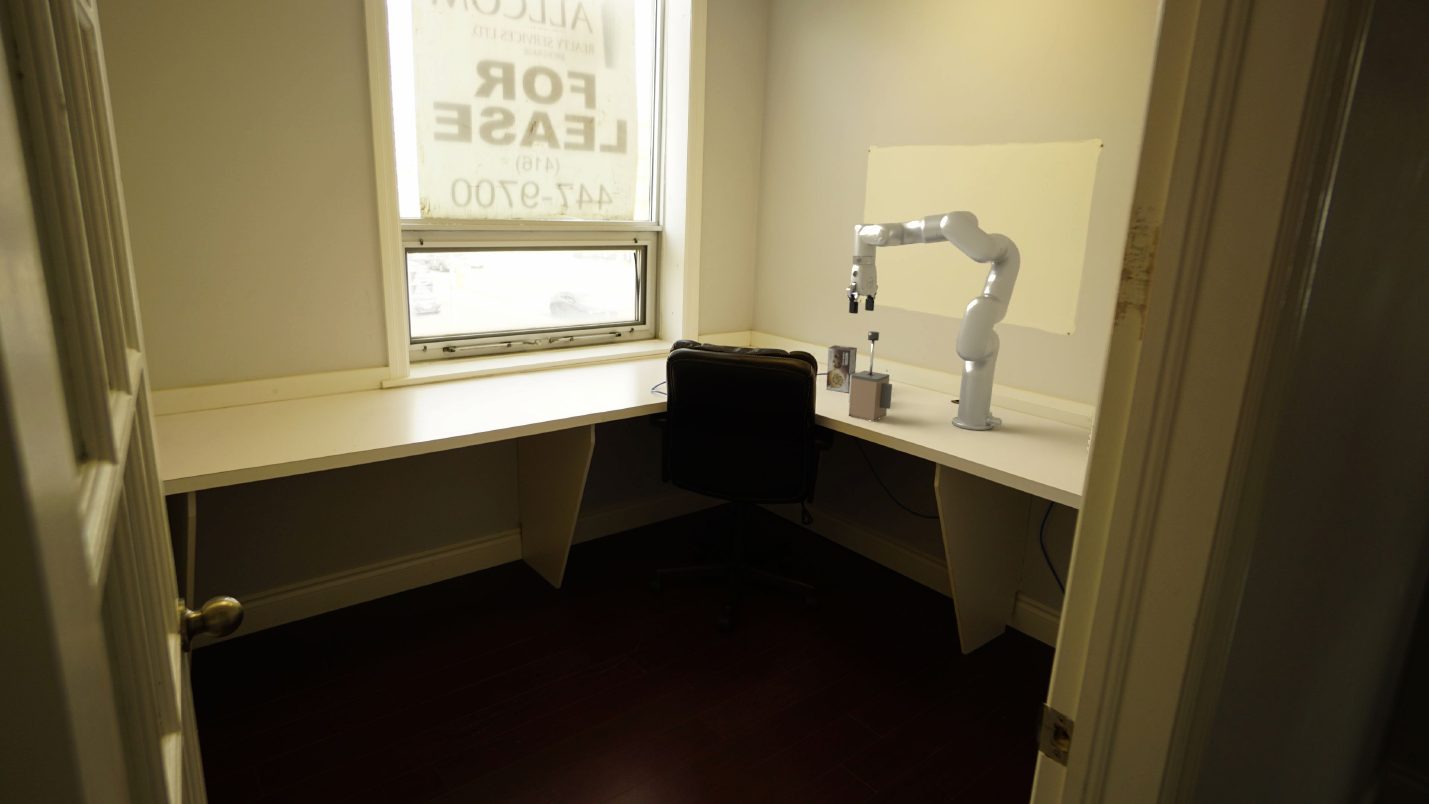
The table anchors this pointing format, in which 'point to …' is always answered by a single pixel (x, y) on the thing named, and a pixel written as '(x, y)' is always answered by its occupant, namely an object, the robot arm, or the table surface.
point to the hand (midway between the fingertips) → (861, 311)
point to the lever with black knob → (872, 347)
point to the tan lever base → (869, 395)
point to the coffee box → (840, 367)
